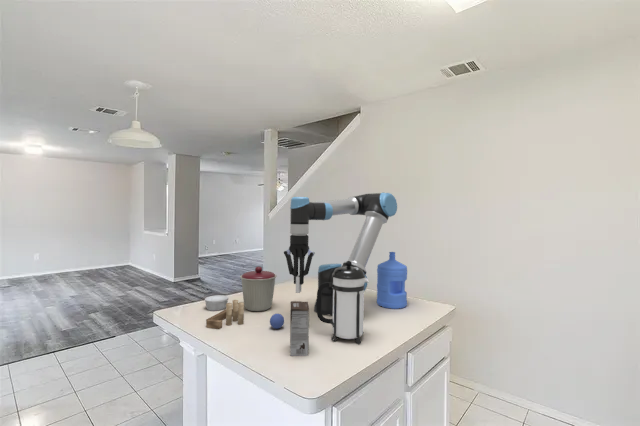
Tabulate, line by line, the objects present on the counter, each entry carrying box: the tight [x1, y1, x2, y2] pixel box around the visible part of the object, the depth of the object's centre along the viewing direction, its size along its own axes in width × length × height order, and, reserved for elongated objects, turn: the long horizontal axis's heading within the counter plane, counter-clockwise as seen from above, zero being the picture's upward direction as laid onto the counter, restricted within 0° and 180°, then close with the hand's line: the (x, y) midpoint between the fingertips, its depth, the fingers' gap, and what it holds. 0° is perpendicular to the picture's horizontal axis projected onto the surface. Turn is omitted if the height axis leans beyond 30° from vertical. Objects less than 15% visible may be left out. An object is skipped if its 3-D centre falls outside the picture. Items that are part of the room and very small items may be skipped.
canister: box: [239, 266, 278, 312], centre depth 159 cm, size 18×18×21 cm
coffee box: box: [289, 300, 310, 357], centre depth 111 cm, size 9×6×16 cm
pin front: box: [237, 301, 245, 326], centre depth 137 cm, size 2×2×9 cm
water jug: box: [376, 251, 408, 310], centre depth 168 cm, size 16×16×28 cm
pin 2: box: [232, 299, 239, 323], centre depth 141 cm, size 2×2×9 cm
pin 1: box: [225, 302, 233, 326], centre depth 136 cm, size 2×2×9 cm
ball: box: [269, 313, 285, 330], centre depth 132 cm, size 6×6×6 cm
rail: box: [205, 309, 226, 330], centre depth 139 cm, size 7×17×3 cm, turn 164°
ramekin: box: [204, 294, 229, 312], centre depth 159 cm, size 11×11×5 cm
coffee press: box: [316, 260, 370, 345], centre depth 123 cm, size 17×16×30 cm
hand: (298, 292), depth 130 cm, fingers closed
